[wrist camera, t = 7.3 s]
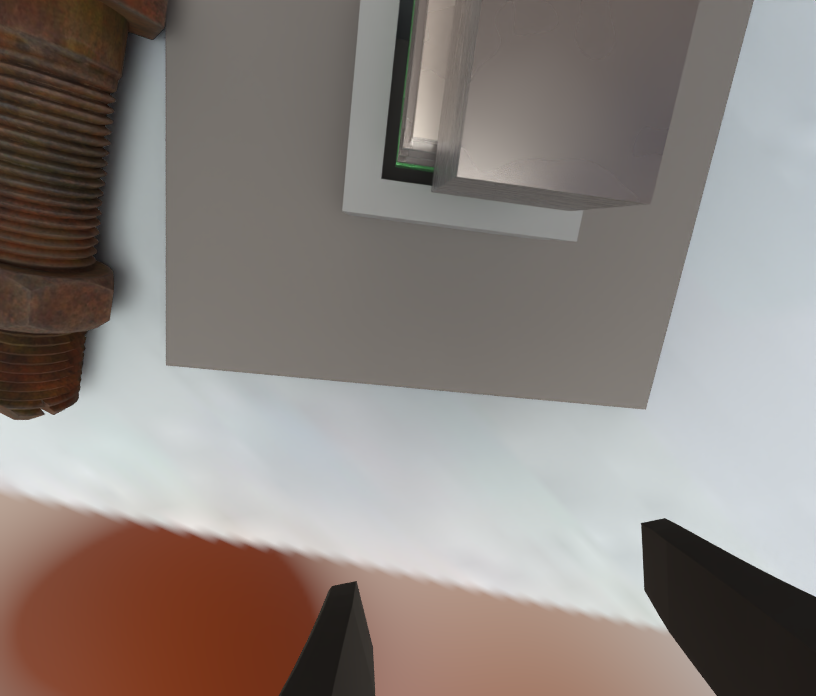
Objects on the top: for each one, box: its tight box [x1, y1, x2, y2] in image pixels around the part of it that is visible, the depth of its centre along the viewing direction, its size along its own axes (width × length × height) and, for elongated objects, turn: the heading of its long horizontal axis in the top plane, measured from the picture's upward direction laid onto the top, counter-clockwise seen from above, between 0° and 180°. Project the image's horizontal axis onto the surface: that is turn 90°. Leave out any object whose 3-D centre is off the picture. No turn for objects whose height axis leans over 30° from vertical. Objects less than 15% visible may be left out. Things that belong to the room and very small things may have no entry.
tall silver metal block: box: [395, 0, 700, 211], centre depth 10 cm, size 4×6×8 cm
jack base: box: [166, 0, 754, 409], centre depth 15 cm, size 20×20×5 cm
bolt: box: [0, 0, 168, 420], centre depth 15 cm, size 6×5×15 cm
